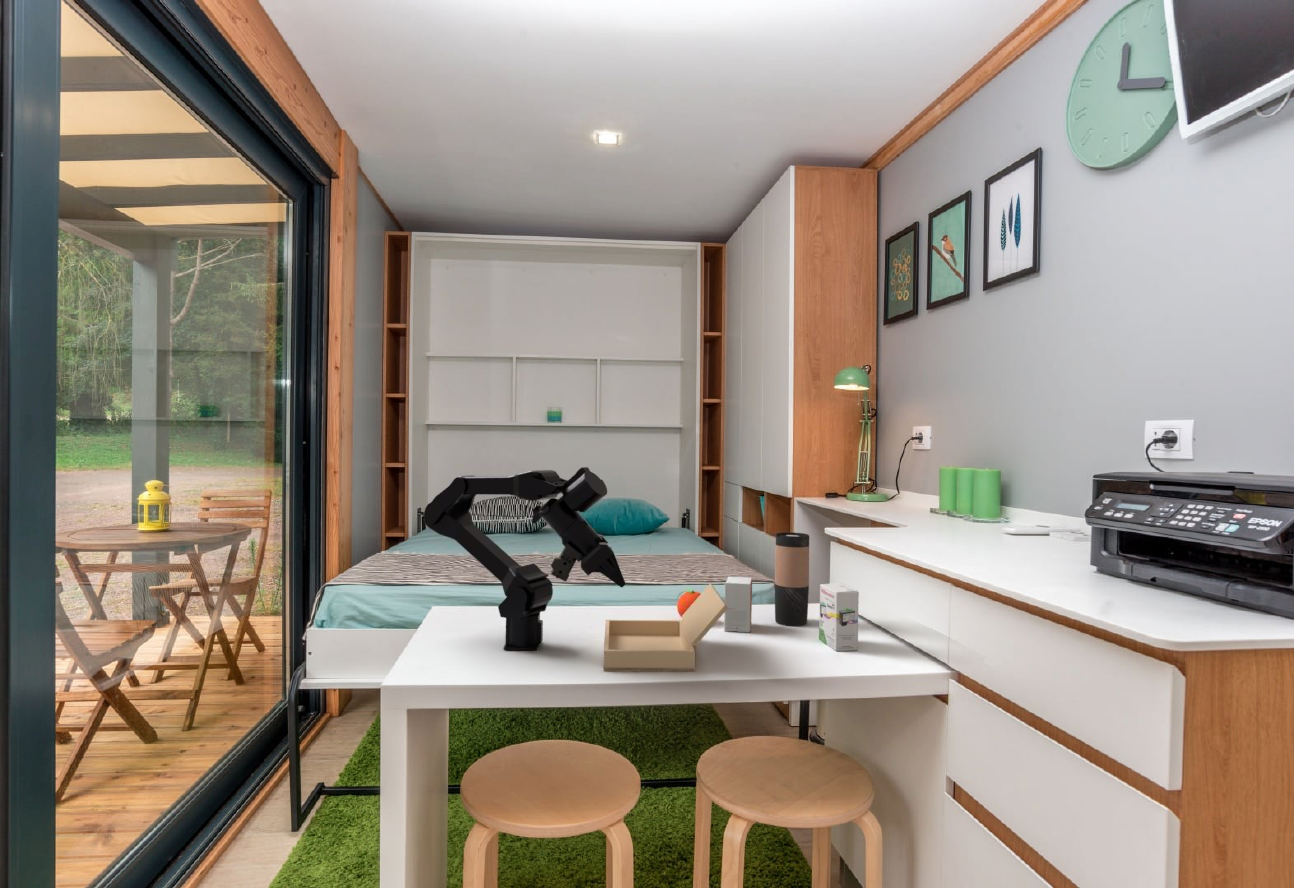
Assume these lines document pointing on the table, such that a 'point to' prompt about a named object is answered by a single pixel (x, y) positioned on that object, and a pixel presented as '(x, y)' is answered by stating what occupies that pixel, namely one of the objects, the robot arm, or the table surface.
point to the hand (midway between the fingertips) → (623, 585)
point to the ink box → (839, 616)
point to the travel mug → (791, 578)
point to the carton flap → (703, 614)
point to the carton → (647, 646)
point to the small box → (738, 604)
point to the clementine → (686, 601)
